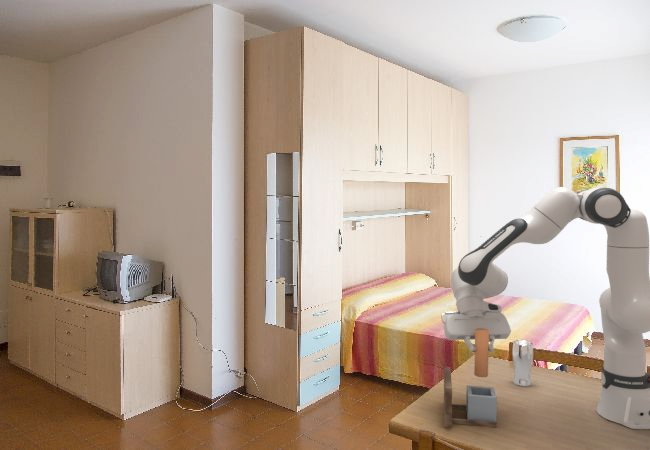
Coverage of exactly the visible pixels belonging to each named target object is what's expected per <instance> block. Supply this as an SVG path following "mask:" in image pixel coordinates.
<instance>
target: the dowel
mask: <svg viewBox="0 0 650 450" xmlns="http://www.w3.org/2000/svg"><path fill="white" fill-rule="evenodd" d="M474 344H475V345H476V349H477V350H476V352H474V371H473V372H474V373H473V375H474V376H476V377H478V378H488V377H489V352H488V351H489V344H490V342H489V330H487V329H482V328H478V329H475V339H474Z"/></svg>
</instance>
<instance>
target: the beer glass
mask: <svg viewBox="0 0 650 450" xmlns="http://www.w3.org/2000/svg"><path fill="white" fill-rule="evenodd" d="M511 355H512V363H513V370H514V374H513V375H514V376H513V379H512V383H513V384H514V385H516V386H519V387H530V386H531V385H532V378H531V371H532V367H533V362H534V344H533V342H531V341H529V340H524V339H516V340H514V341H513V343H512V353H511Z"/></svg>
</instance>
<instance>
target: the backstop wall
mask: <svg viewBox="0 0 650 450" xmlns="http://www.w3.org/2000/svg"><path fill="white" fill-rule="evenodd" d="M453 409H458V410H466V404H464V403H453V383H452V372H451V367H449V366H444V367H443V415H444V416H443V417H444V428H447V429H452V428H453V425H454V424H457V425H467V426H477V427H478V426H479V427H489V428H490V427H491V428H497V425H498V422H497V421H496V422H489V421H478V420H468V419H464V418H455V417H453Z"/></svg>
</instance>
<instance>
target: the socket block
mask: <svg viewBox="0 0 650 450" xmlns="http://www.w3.org/2000/svg"><path fill="white" fill-rule="evenodd" d="M465 395H466V396H465V397H466V399H465V400H466V401H465V402H466V409H465V410H466V418H467V419H466V420H478V421H489V422H497V415H498V414H497V411H498V410H497V407H498V406H497V405H498V404H497V403H498V401H497V400H498V399H497V398H498V397H497V395H496V391H495V387H493V386H480V385H479V386H478V385H468V384H466V394H465Z"/></svg>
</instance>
